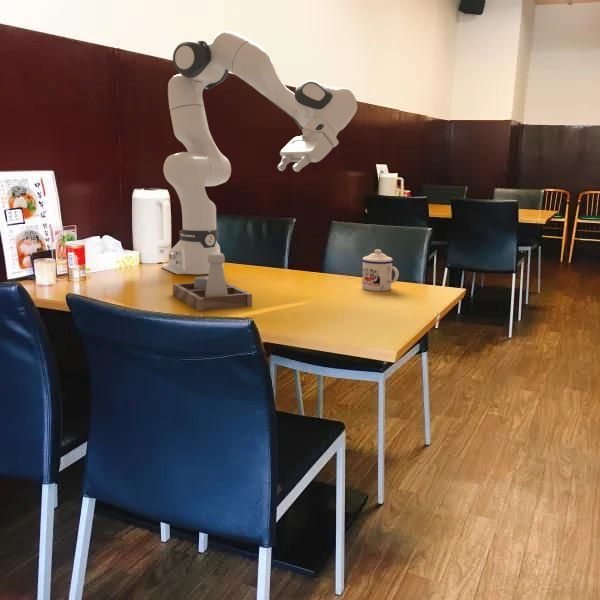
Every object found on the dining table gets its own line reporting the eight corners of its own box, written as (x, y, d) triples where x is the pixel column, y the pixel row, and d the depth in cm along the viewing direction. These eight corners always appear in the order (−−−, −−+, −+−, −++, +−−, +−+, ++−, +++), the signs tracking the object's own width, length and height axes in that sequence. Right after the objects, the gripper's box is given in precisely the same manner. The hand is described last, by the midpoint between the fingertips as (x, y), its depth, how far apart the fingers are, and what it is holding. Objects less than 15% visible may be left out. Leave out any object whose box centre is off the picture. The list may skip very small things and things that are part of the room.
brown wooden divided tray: (173, 298, 168) (172, 283, 167) (221, 293, 175) (221, 279, 174) (199, 315, 151) (198, 299, 150) (252, 309, 157) (252, 294, 156)
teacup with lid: (354, 288, 185) (356, 249, 183) (373, 284, 192) (374, 246, 189) (387, 294, 177) (389, 254, 175) (405, 290, 184) (408, 251, 181)
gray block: (190, 296, 167) (189, 278, 165) (207, 293, 170) (207, 275, 169) (202, 299, 163) (202, 281, 162) (219, 296, 166) (219, 278, 165)
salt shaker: (223, 307, 155) (222, 255, 152) (201, 305, 156) (200, 254, 153) (231, 302, 161) (230, 252, 158) (210, 300, 162) (209, 251, 159)
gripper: (293, 128, 188) (264, 161, 185) (329, 125, 170) (297, 161, 168) (306, 144, 191) (277, 176, 188) (342, 143, 173) (311, 178, 171)
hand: (287, 169), depth 178 cm, fingers open, 8 cm apart
